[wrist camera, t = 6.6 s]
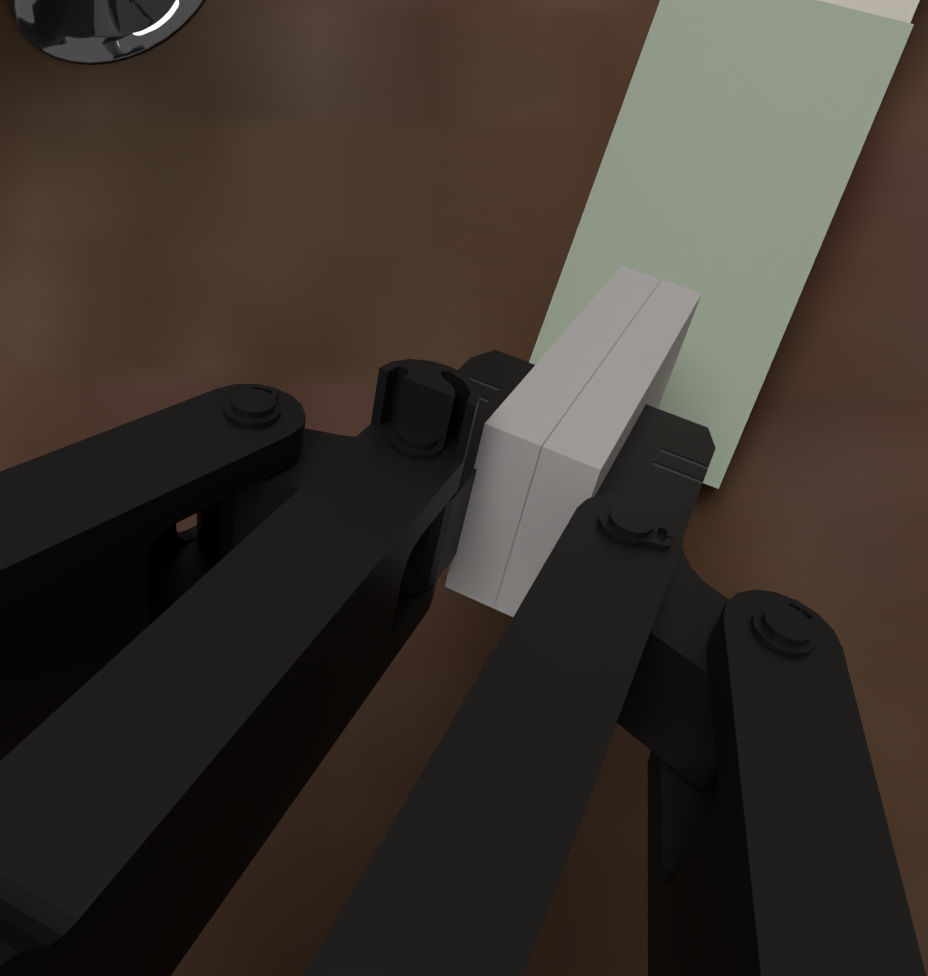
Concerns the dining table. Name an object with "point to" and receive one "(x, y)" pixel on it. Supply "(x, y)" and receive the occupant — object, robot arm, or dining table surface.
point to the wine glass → (99, 26)
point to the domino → (729, 183)
